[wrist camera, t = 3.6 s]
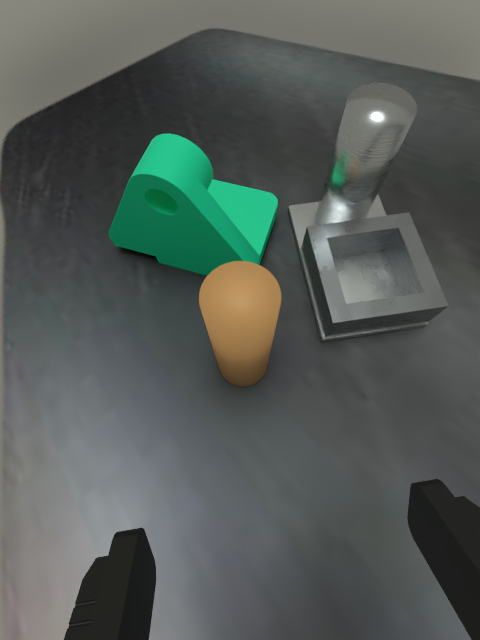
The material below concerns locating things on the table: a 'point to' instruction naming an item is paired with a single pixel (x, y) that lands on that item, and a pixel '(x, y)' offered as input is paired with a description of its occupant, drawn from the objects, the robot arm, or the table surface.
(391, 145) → the clear post on plate
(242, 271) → the tan rounded cylinder
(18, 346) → the table surface
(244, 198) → the camera mount
